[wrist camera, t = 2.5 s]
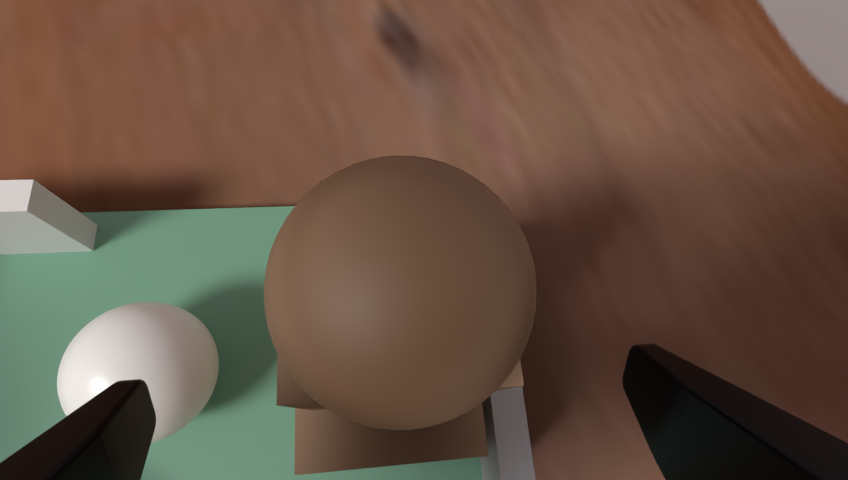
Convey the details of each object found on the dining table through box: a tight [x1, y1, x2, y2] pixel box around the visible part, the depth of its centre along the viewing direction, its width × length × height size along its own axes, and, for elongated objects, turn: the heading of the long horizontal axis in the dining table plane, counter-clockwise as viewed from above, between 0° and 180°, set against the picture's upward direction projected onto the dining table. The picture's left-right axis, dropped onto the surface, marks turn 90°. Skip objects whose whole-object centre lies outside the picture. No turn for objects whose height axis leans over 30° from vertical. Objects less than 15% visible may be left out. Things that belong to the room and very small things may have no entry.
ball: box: [57, 302, 219, 443], centre depth 14 cm, size 4×4×4 cm
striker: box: [264, 156, 537, 475], centre depth 11 cm, size 5×6×12 cm
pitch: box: [0, 180, 536, 480], centre depth 15 cm, size 21×12×4 cm, turn 94°
